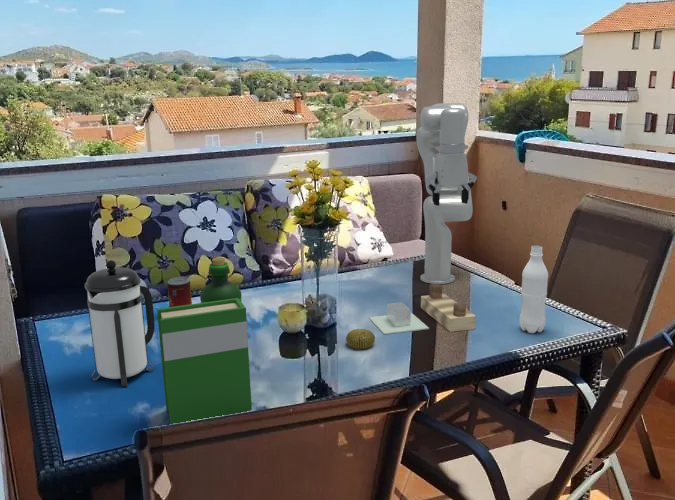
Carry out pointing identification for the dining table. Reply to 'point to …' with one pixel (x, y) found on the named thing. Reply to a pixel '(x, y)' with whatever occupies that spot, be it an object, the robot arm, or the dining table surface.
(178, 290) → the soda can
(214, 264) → the bottle
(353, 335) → the sculpture
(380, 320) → the mat
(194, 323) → the hardback book
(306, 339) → the dining table surface
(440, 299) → the hand plane
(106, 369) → the coffee press
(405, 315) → the grey block
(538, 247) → the water bottle
